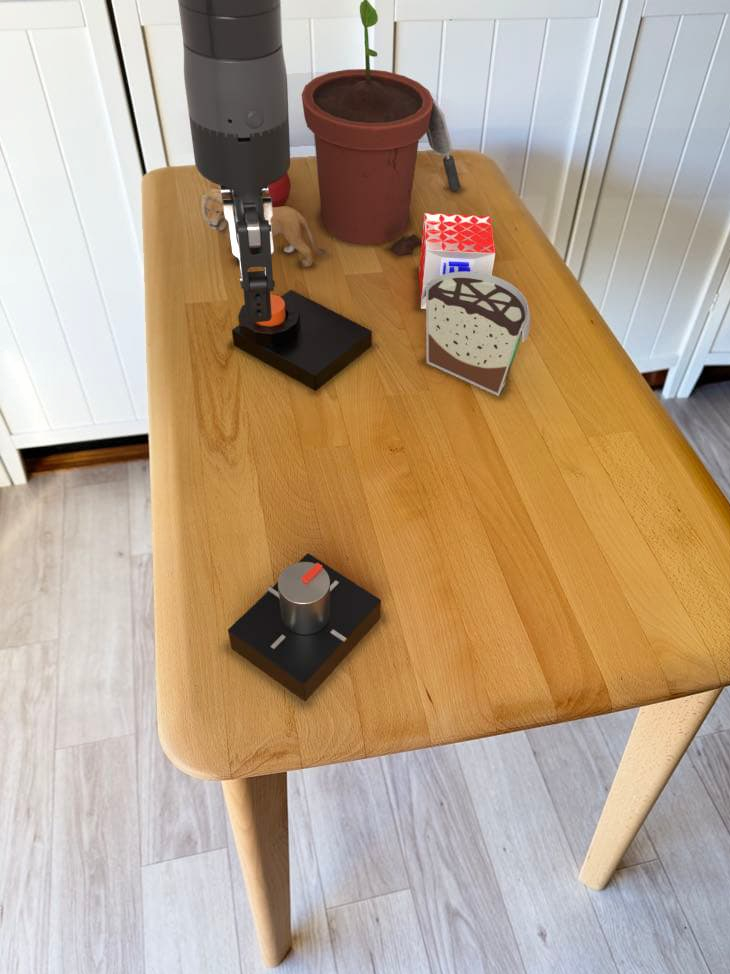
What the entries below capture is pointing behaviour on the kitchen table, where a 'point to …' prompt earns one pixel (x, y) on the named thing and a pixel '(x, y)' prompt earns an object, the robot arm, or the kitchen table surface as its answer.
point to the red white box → (454, 246)
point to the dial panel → (305, 656)
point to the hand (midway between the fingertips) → (253, 291)
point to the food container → (474, 327)
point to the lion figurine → (281, 222)
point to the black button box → (304, 341)
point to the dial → (304, 597)
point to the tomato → (280, 191)
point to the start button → (275, 312)
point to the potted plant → (372, 147)
